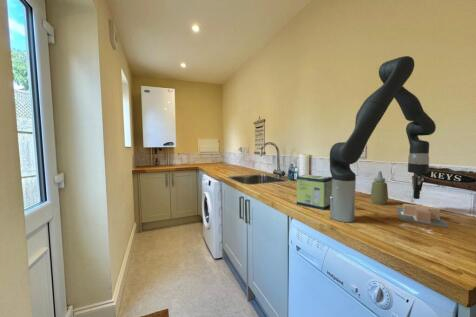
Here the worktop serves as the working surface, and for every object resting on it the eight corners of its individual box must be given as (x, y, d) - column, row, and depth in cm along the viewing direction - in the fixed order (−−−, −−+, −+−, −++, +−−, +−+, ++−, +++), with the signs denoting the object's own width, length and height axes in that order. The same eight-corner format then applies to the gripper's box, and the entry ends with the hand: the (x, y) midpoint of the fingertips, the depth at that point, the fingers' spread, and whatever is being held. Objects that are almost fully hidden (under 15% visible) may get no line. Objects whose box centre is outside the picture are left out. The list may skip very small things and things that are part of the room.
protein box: (305, 200, 121) (305, 174, 121) (332, 206, 110) (332, 177, 110) (295, 204, 114) (296, 176, 113) (324, 210, 103) (324, 179, 102)
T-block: (405, 218, 89) (405, 209, 89) (402, 212, 98) (403, 203, 98) (444, 224, 82) (444, 214, 82) (437, 216, 91) (437, 207, 91)
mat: (400, 221, 88) (400, 219, 88) (396, 207, 106) (396, 206, 106) (449, 228, 79) (449, 227, 79) (436, 212, 98) (436, 211, 98)
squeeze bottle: (373, 205, 110) (374, 172, 109) (367, 201, 118) (368, 170, 117) (390, 206, 108) (392, 172, 107) (384, 202, 116) (385, 170, 115)
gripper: (406, 161, 107) (405, 195, 108) (409, 163, 96) (407, 200, 97) (426, 162, 103) (424, 197, 104) (431, 164, 92) (429, 202, 93)
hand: (416, 198), depth 100 cm, fingers closed
